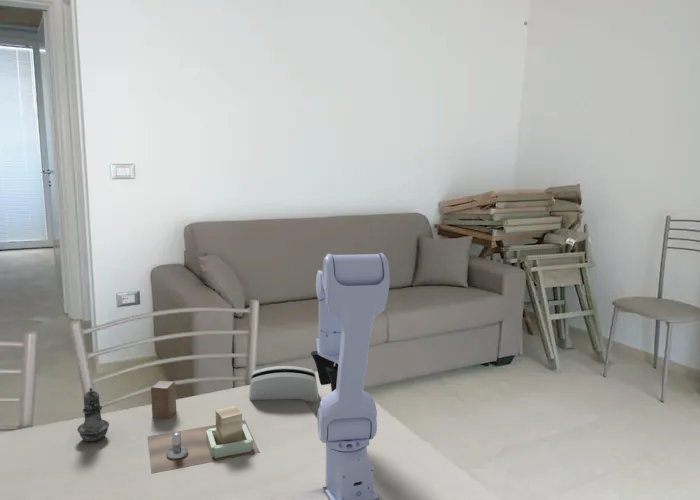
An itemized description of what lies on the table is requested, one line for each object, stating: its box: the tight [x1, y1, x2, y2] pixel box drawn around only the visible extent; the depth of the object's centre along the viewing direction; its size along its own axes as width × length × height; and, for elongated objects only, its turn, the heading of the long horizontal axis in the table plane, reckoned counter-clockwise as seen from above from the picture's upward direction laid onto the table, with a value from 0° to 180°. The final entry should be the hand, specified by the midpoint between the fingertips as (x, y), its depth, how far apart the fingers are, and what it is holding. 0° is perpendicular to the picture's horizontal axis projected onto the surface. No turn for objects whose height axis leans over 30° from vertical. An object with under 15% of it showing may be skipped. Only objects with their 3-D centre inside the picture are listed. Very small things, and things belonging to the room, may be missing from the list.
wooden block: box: [150, 380, 177, 420], centre depth 123 cm, size 4×4×8 cm
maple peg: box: [215, 405, 243, 445], centre depth 111 cm, size 4×4×7 cm
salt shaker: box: [76, 386, 110, 442], centre depth 112 cm, size 6×6×12 cm
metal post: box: [166, 431, 188, 460], centre depth 107 cm, size 4×4×4 cm
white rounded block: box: [248, 365, 320, 403], centre depth 133 cm, size 17×5×10 cm, turn 96°
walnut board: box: [147, 419, 261, 474], centre depth 112 cm, size 14×20×1 cm
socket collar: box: [206, 423, 254, 458], centre depth 111 cm, size 8×8×2 cm
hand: (331, 391), depth 116 cm, fingers open, 7 cm apart
